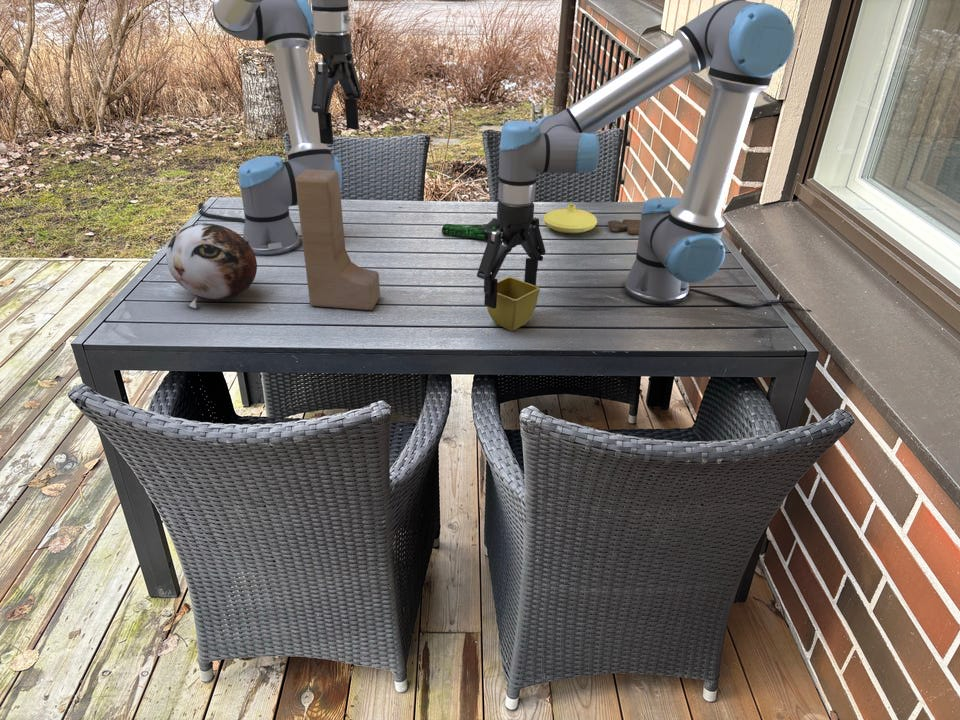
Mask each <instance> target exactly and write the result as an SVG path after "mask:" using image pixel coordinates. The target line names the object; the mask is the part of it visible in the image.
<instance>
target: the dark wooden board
mask: <svg viewBox="0 0 960 720" xmlns="http://www.w3.org/2000/svg"><path fill="white" fill-rule="evenodd" d="M640 223H641V219H623V220H622V222H621V221H619V220H615V219H614V220H608V221H607V224H608V229H609V231H610V232H613V233H615V232H616V233H617V232H623V231H627V234H629V235H639V231H640Z"/></svg>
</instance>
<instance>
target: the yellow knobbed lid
mask: <svg viewBox="0 0 960 720" xmlns="http://www.w3.org/2000/svg"><path fill="white" fill-rule="evenodd" d="M543 222H544V225H545V226H546V227H548V228H550V229H551V230H554V231H556V232H559V233H564V234H580V233H584V232H585V233H586V232H587V231H591V230H592V229H594V228H596V226H597V223H598V219H597V217H596V215H595V214H593V213H591V212H589V211H587V210H584V209H578V208H576V205H575V204H571V203H570V204H567V208H557V209H552V210H549V211H548V212H547V213H545V214H544V216H543Z"/></svg>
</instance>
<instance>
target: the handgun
mask: <svg viewBox="0 0 960 720" xmlns="http://www.w3.org/2000/svg"><path fill="white" fill-rule="evenodd" d="M499 229H500V222H499V220H498V219H497V217H492V219H491V220H490V221H489V222H488V223H483V224H482V225H479V224H472V225H459V224H453V223H445V224H443V226H442V227H441V235H446V236H454V237H462V238H469V239H470V238H471V239H474V240H479V241H484V242H488V236H489V231H490V230H492V231H499Z"/></svg>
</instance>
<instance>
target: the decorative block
mask: <svg viewBox="0 0 960 720" xmlns="http://www.w3.org/2000/svg"><path fill="white" fill-rule="evenodd" d="M295 182H296V191H297V199H298V205H297V208H298V214H299V223H300V232H301V241H302V249H303V257H304V265H305V274H306V283H307V290H308V297H309V304H310V306H312V307H323V308H324V307H325V308H337V309H350V310H351V309H352V310H363V311H371V310H373V309H374V307H375V306H376V304H377V302H378V301H379V299H380V297H381V290H380V289H381V287H380V274H379V271H377V270H372V269H369V268H363V267H360V266H359V265H357V264H356V263H354V262H352V260H351V258H350V256H349V253H348V252H347V249H346V242H345V230H344V218H343V207H342V206H343V205H342V197H341V192H340V184H339V173H338V171H334V170H315V169H307V170H305V171H304V172H303V173H301V174H300V175H299V176H298V177H297V178H296V179H295Z"/></svg>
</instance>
